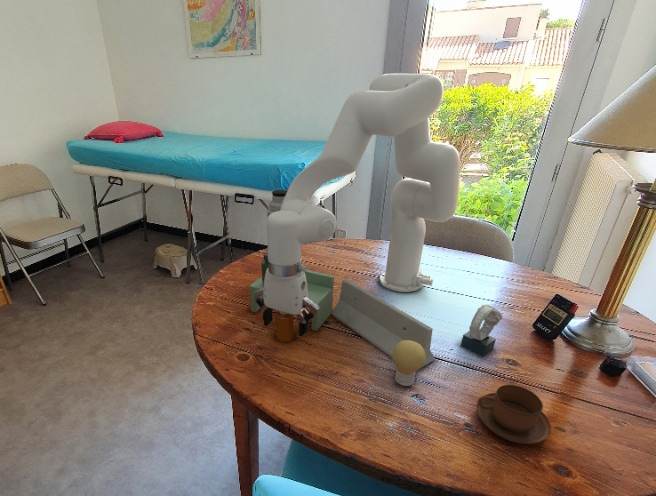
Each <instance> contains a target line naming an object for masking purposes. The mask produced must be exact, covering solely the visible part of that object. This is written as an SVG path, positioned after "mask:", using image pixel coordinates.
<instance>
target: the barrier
mask: <svg viewBox="0 0 656 496" xmlns="http://www.w3.org/2000/svg"><path fill="white" fill-rule="evenodd" d="M340 287H341V288H340V295H339V300H338V302H337V303H336V304H335V307H334V308H333V309H332V313H331V316H332V317H333V318H335V319H336V320H338V321H339V322H341V323H342V324H343V325H345V326H346V327H348V328H349V329H350V330H352V331H353V332H355V333H356V334H358V335H359V336H360V337H362V338H363V339H364V340H366V341H368V342H369V343H371V344H372V345H373V346H375V347H376V348H377V349H379V350H381V351H382V352H383V353H385V354H386V355H388V356H390V358H392V359H393V357H392V353H393V350H394V348H395V346H396V345H397V344H398V343H399V342H401V341H404V340H410V341H414V342H417V343H419V344H420V345H421V346H422V347H423V349H424V352H425V362H424V364H423V366H422V367H421V368H424V367H425V366H427V365H429V364H431V363H433V362H435V356H434V354H433V353H432V351H431V343H432V338H433V337H432V336H433V330H434V329H433V328H432V327H431V326H429V325H427V324H426V323H424V322H423V321H420V320H419V319H418V318H417V319H416V318H415V317H413V316H412V315H410V314H408V313H406V312H404V311H403V310H401V309H399V308H398V307H396V306H394V305H393V304H391V303H389V302H387V301H385V300H384V299H382V298H380V297H378V296H376V295H374V294H373V293H371V292H369V291H368V290H366V289H365V288H362V287H360V286H359V285H358V284H356V283H354V282H352V281H350V280H348V279H347V278H345V279H342V281H341V286H340Z"/></svg>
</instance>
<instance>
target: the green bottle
mask: <svg viewBox="0 0 656 496" xmlns="http://www.w3.org/2000/svg"><path fill="white" fill-rule="evenodd" d="M260 264H261V266H260V267H261V277H262V286H263V287H264V279H265V274H266V270H267V269H268V251H264V253H263V259H262V260H261V263H260Z"/></svg>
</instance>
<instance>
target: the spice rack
mask: <svg viewBox="0 0 656 496" xmlns="http://www.w3.org/2000/svg"><path fill="white" fill-rule="evenodd" d="M305 276H306V281H307V289H308V299H309V300H310V301H312V302H313V303H314V304H316V305H317V306H318V307H319V310H318V312H317V313H316V314H315V316H314V317H313V318H312V319H311V330H314V331H318V330H319V329H320V328H321V327H322V325H323V324H324V323H325V321H326V320H327V319H328V318H329V316H331V315H332V312H333V301H334V288H335V287H334V285H335V275H333V274H328V273H322V272H318V271H314V270H310V269H306V271H305ZM262 288H264V287H263V286H262V276H260V277H259V278H258V279H256V280H255V281H254V282H252V283H251V284H250V285H249V299H250V300H249V301H250V312H253V313H257V312H258V311H259V310H261V308H260V306H259V305H258V304H257V302H256V301H257V300H256V299H255V297H254V295H253V292H254V291H256V290H258V289H262ZM261 296H262V298H263V299H264V297H263V295H261Z"/></svg>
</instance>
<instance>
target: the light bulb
mask: <svg viewBox="0 0 656 496" xmlns="http://www.w3.org/2000/svg"><path fill="white" fill-rule="evenodd" d="M392 357H393V358H392ZM392 357H391V358H392V361H393V363H394V365H395V367H396V372H395V377H394V378H395V381H396V383H397V384H399V385H400V386H404V387H410V386H412V385H413V384H414V383H415V376H416V372H417V371H419V370H420V369H422V368H423V367H424V366H423V364H424V362H425V352H424V349H423V347H422V346H421V345H420V344H419V343H417V342H414V341H410V340H404V341H401V342H399V343H398V344H397V345H396V346H395V348H394V350H393V353H392ZM422 366H423V367H422Z"/></svg>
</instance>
